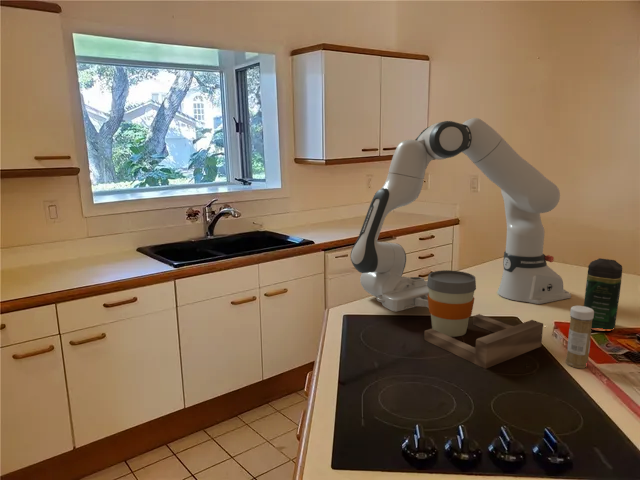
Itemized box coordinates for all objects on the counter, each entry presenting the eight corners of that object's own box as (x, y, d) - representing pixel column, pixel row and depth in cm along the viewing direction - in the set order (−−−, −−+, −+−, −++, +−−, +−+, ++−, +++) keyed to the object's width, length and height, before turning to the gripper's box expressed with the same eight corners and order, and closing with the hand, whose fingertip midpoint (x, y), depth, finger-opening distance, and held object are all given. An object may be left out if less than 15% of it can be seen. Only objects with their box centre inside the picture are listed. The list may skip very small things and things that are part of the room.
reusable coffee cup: (483, 332, 126) (487, 278, 123) (450, 343, 119) (453, 286, 116) (447, 317, 136) (450, 267, 133) (415, 327, 130) (417, 274, 127)
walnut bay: (424, 339, 122) (425, 317, 120) (478, 322, 133) (479, 302, 131) (485, 368, 106) (486, 343, 105) (541, 346, 117) (543, 323, 116)
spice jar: (591, 365, 107) (598, 309, 104) (581, 371, 104) (587, 313, 102) (572, 358, 111) (577, 303, 108) (561, 363, 108) (566, 307, 105)
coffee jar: (614, 336, 122) (622, 266, 119) (579, 329, 127) (586, 262, 123) (616, 324, 130) (624, 258, 126) (583, 318, 135) (590, 255, 131)
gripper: (373, 287, 137) (405, 300, 126) (424, 276, 148) (459, 287, 136) (373, 308, 138) (405, 322, 127) (424, 295, 149) (458, 307, 138)
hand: (433, 304), depth 132 cm, fingers closed, pressing on reusable coffee cup
